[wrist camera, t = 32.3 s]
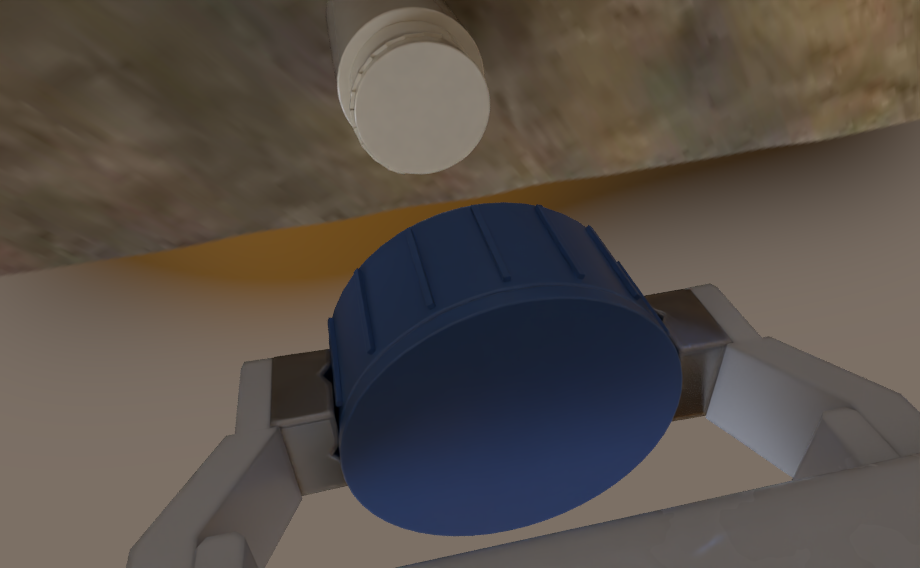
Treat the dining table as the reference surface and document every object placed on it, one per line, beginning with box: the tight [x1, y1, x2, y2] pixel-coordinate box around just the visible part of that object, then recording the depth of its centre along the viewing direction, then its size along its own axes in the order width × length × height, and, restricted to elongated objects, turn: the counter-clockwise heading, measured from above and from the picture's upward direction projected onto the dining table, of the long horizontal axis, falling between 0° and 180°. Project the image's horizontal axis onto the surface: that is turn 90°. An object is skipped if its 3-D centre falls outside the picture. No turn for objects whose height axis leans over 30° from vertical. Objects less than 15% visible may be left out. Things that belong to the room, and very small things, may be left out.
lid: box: [328, 202, 682, 536], centre depth 11 cm, size 6×6×3 cm
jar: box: [326, 0, 490, 175], centre depth 25 cm, size 5×5×11 cm
